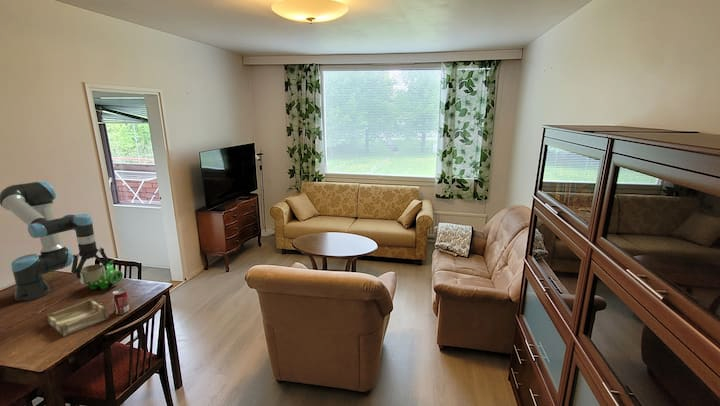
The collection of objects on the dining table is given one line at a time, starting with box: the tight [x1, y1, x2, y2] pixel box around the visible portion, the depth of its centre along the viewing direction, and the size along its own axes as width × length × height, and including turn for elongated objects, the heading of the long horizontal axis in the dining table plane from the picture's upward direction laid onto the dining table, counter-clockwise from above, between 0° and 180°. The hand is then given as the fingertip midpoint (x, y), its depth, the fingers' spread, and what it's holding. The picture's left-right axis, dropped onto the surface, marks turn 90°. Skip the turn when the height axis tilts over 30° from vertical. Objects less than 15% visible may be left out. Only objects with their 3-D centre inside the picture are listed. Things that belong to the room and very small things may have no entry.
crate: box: [46, 298, 110, 338], centre depth 175 cm, size 19×19×5 cm
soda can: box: [111, 288, 130, 315], centre depth 183 cm, size 7×7×12 cm
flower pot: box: [81, 264, 103, 282], centre depth 191 cm, size 10×10×7 cm
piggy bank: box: [83, 259, 124, 290], centre depth 210 cm, size 14×18×15 cm
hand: (93, 279), depth 191 cm, fingers closed on flower pot, 10 cm apart
